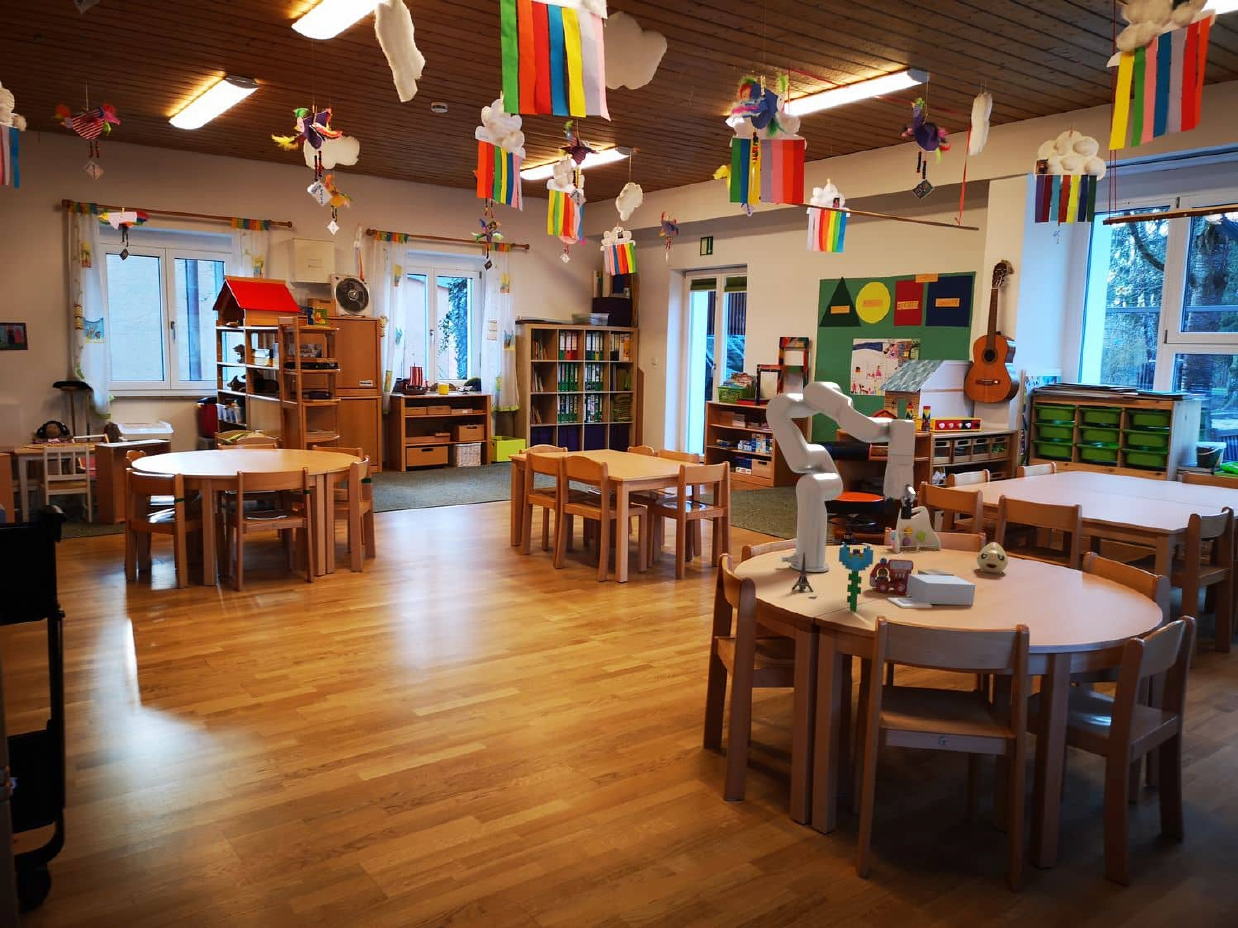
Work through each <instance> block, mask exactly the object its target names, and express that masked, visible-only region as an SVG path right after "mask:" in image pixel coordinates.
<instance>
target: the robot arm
mask: <svg viewBox="0 0 1238 928" xmlns="http://www.w3.org/2000/svg"><path fill="white" fill-rule="evenodd" d="M820 413H821V414H823V415H825V416H827V417H828V418H829V419H832V420H833V421H835V422H836V423H837V425H838V426H839V428H840V429H841V430H842V431H844V432H845V433H847V434H848V435H850V436H852V437H853V438H855V439H857V440H859V441H861V442H862V443H863V442H864V443H868V444H869V443H871V444H872V443H887V442H888V445H887V446H888V448H887V449H888V450H887V463H886V468H885V474H884V480H883V487H882V488H883V489H882V490H883V491H882V493H883V496H884V498H883V499H884V500H883V501H884V514H885V515H895V513H896V501H895V500H899V499H900V501H901V503H902V505H901V506H900V509H901V519H902V520H910V519H911V517H912V514H913V513H912V509H913V506H914V502H915V498H916V494H917V493H916V492H915V491H914V465H915V463H914V462H915V461H914V460H915V448H916V447H915V446H916V444H915V443H916V430H917V429H916V428H917V427H916V422H915V421H914V420H912V419H900V418H898V419H896V418H895V419H894V418H889V417H869V416H866V415H865V414H862V413H860V412H859V411H857V410H856V409H854V401H853V398H852V397H849V396H848V395H845V394H844V393H843V391H842V389H841V387H840V386H839V385H838V384H837V383H835V382H832V381H812V382H810V383H808V384H807V385H805V387H804V388H803V390H802V392H781V393H777V394H776V395H774V396H773V397H771V398H770V400H768V403H767V405H766V412H765V418H766V421H767V425H768V426H769V429H770V431H771V432H772V435H773V436H774V438H775V440H776V442H777V444H778V446H779V448H780V450H781V452H782V455H783V457H784V459H785V461H786V463H787V465H788V467H789V469H790V471H792V472H793V473H796V474H805V475H802V476H801V477H800V478H799V479H798V481H797V483H796V486H795V493H796V495H795V496H796V501H797V519H796V520H797V521H796V522H797V524H796V525H797V527H796V546H795V547H796V548H795V552H793V553H792V555H789V556H788V555H782V556H781V558H780V559H781V560H780V561H781V562H782V563H790V567H791V568H792V569H793V570H797V571H800V572H801V569H802V562H803V553H804V552H805V554H806V555H805V570H806V572H807V573H823V572H828V571H830V565H829V564H827V563H826V545H827V530H828V529H827V528H828V527H827V526H828V512H827V511H828V510H827V507H826V504H825V502H826V501H833V500H836V499H837V498H839V497H840V496H841V495H842V493H843V492H844V483H843V480H842V477H841V475H840V473H839V470H838V469H837V467H836V465H835V463H834V461H833V458H832V456H831V454H830V453H829V451H828V450H827V449H826V448H825V447H824V446H823V445H821V444H818V443H808V442H807V441H806V439H805V437H804V435H803V432H802V431H801V429H800V428H799V427H798V425H797V424H796V423H795V422H794V421H793V420H792V419H798V418H799V419H801V418H802V419H804V418H808V417H812V416H814V415H818V414H820ZM804 549H805V551H804Z"/></svg>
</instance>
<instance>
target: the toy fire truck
mask: <svg viewBox="0 0 1238 928" xmlns="http://www.w3.org/2000/svg"><path fill="white" fill-rule="evenodd" d="M913 570H914V561H913V560H910V559H895V558H891V559H889V560H888V559H887V558H886V557H882V558H880V559H879V562H877V563H876V564H875V565H874V567H873V569H872V570H871V572H870V574H869V586H870V587H872V588H876V591H877V592H878V593H879V594H887V593H888V592H889V591H890V589H892V590H893V592H894V593H895V594H896V595H897V596H904V595H905V594H907V585H908V575H909V574H912V571H913Z"/></svg>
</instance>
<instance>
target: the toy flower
mask: <svg viewBox="0 0 1238 928" xmlns="http://www.w3.org/2000/svg"><path fill="white" fill-rule="evenodd" d="M862 550H863V552H861V549H858V548H853V549H852V551H851V546H848V544H847V543H843V546H840V547H839V552H838V563H841V566H844V567H845V568H844V569H846V570H849V571H851V573H848V577H847V578H848V579H847V580H848V581H850V584H848V583H847V587H846V588H847V590H846V592H847V593H850V594H849V595H846V603H849V611H850V612H857V609H858V608H857V607H858V595H861V594H862V587H861V586H859V585H860V584H862V581H863V579H862V578H863V577H862V576H859V573H860V572H863V571H866V569H867V568H870V565H873V564H874V549H871V545H866V547H863V549H862Z"/></svg>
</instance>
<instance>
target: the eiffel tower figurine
mask: <svg viewBox="0 0 1238 928" xmlns="http://www.w3.org/2000/svg"><path fill="white" fill-rule="evenodd" d="M804 551H805V549H804ZM805 555H806V554H805V552H804V553H803V562H802V569H801V571H800V574H799V577H798V579H797V580H796V582H795V584H794V585H793V586H792V588H791V590H795V589H796V588H797V587H798V588H799V590H798V593H799V594H803V590H804V589H807V588H808V590H809V591H811V592H810V593H815V592H814V590H813V588H812V586H811V585H810V582H809V581H808V578H807V573H806V572H807V571H806V570H805ZM817 597H818V595H815V596H808V597H807V599H812V600H813V599H814V600H815V599H816V598H817Z"/></svg>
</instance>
